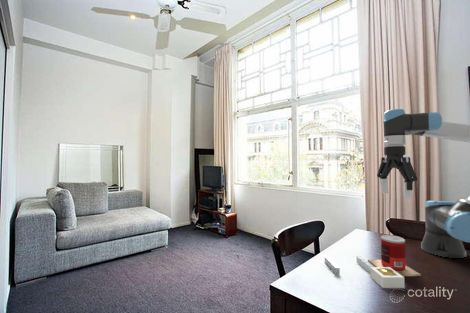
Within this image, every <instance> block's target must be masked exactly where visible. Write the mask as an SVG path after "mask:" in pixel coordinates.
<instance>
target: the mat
mask: <svg viewBox="0 0 470 313" xmlns="http://www.w3.org/2000/svg"><path fill="white" fill-rule="evenodd" d="M367 262H368V263H370V264H371V265H372V266H373V267H384V266H383V265H382V263H381V259H368V260H367ZM396 272H397V273H399V274H400V275H402V276H403V277H421V276H422V273H420V272H417V271H416V270H414V269H413V268H411V267H410V266H407V265H406V267H405V270H403V271H396Z"/></svg>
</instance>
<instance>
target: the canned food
mask: <svg viewBox="0 0 470 313" xmlns="http://www.w3.org/2000/svg"><path fill="white" fill-rule="evenodd" d="M406 247H407V246H406V239H404V237H401V236H398V235H392V234H384V235H381V236H380V254H381V255H380V260H381V263H382V265H383V266H384V267H390V268H392V269H393V270H395V271H403V270H405V267H406V266H407V262H406V260H407V259H406V257H407V255H406V250H407V249H406Z"/></svg>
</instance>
